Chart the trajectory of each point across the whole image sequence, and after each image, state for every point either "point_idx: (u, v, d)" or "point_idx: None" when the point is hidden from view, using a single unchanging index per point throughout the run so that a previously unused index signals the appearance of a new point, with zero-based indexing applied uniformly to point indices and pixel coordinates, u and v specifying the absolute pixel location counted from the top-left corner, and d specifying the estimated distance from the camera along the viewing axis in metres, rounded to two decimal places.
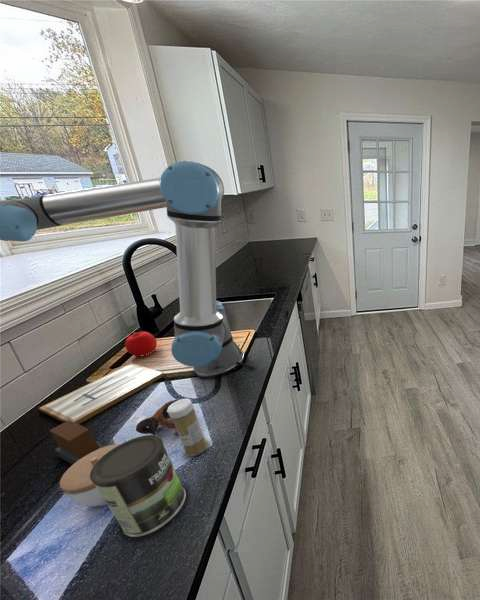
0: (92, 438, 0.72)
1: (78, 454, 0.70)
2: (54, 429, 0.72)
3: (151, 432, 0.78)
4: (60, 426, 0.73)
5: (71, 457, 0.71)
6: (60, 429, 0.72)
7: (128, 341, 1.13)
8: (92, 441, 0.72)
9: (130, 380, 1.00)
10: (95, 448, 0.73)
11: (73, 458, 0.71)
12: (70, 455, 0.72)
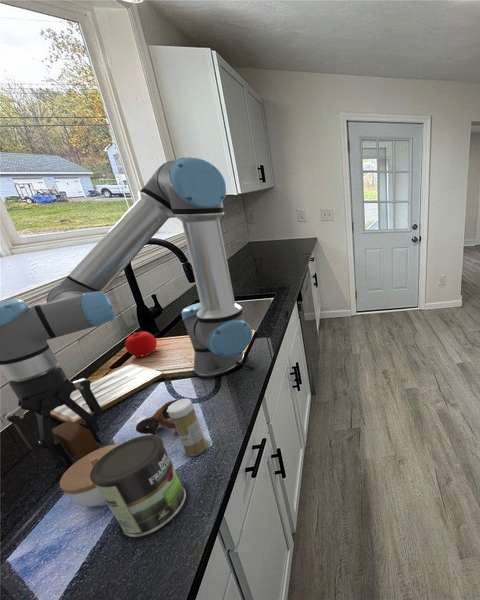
0: (92, 438, 0.72)
1: (78, 454, 0.70)
2: (54, 429, 0.72)
3: (151, 432, 0.78)
4: (60, 426, 0.73)
5: (71, 457, 0.71)
6: (60, 429, 0.72)
7: (128, 341, 1.13)
8: (92, 441, 0.72)
9: (130, 380, 1.00)
10: (95, 448, 0.73)
11: (73, 458, 0.71)
12: (70, 455, 0.72)
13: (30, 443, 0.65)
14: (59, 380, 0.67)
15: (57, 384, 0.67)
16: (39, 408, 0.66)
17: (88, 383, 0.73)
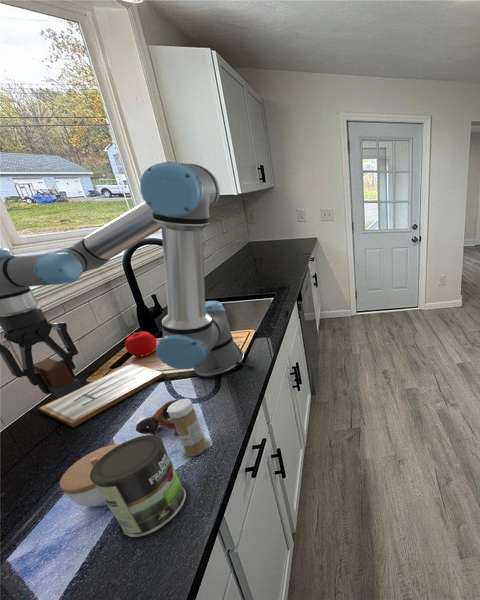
0: (67, 371, 0.85)
1: (55, 383, 0.83)
2: (35, 364, 0.85)
3: (151, 432, 0.78)
4: (41, 362, 0.86)
5: (49, 387, 0.84)
6: (40, 364, 0.85)
7: (128, 341, 1.13)
8: (67, 374, 0.85)
9: (130, 380, 1.00)
10: (70, 381, 0.86)
11: (51, 387, 0.84)
12: (49, 385, 0.85)
13: (14, 370, 0.78)
14: (39, 319, 0.80)
15: (37, 322, 0.80)
16: (22, 341, 0.79)
17: (65, 325, 0.86)
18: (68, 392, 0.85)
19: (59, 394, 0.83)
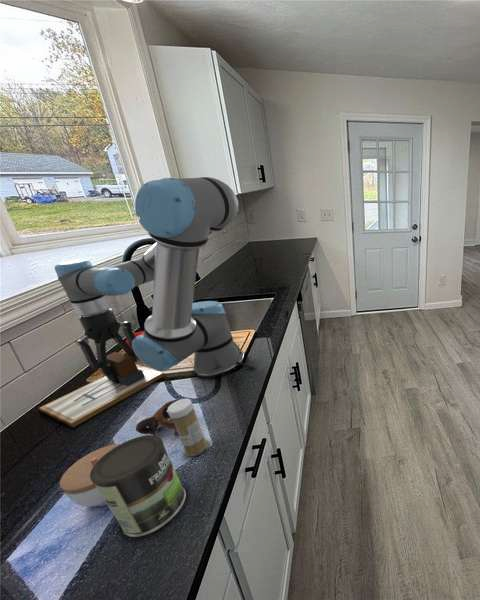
0: (133, 363, 0.99)
1: (124, 373, 0.97)
2: None
3: (151, 432, 0.78)
4: (109, 355, 1.00)
5: (118, 376, 0.98)
6: (109, 357, 0.99)
7: None
8: (133, 365, 0.99)
9: None
10: (135, 371, 1.00)
11: (120, 377, 0.98)
12: (117, 375, 0.99)
13: (92, 362, 0.92)
14: (112, 318, 0.94)
15: (111, 321, 0.94)
16: (98, 338, 0.93)
17: (130, 324, 1.00)
18: (134, 381, 0.99)
19: (127, 382, 0.97)
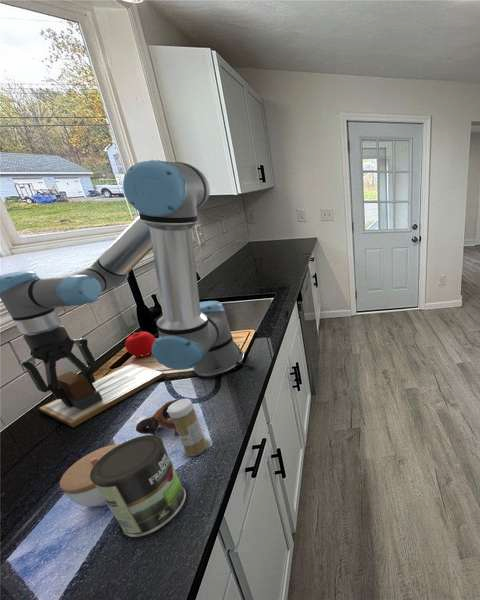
0: (88, 384, 0.90)
1: (77, 396, 0.88)
2: (58, 377, 0.89)
3: (151, 432, 0.78)
4: (63, 375, 0.90)
5: (71, 399, 0.89)
6: (62, 377, 0.89)
7: (128, 341, 1.13)
8: (88, 387, 0.90)
9: (130, 380, 1.00)
10: (91, 393, 0.90)
11: (73, 400, 0.88)
12: (70, 398, 0.89)
13: (40, 385, 0.83)
14: (62, 336, 0.84)
15: (61, 339, 0.84)
16: (47, 358, 0.84)
17: (86, 341, 0.91)
18: (89, 404, 0.89)
19: (81, 406, 0.88)
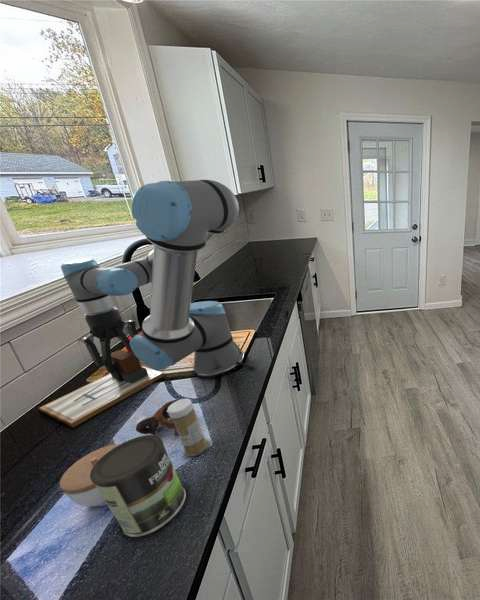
0: (137, 361, 1.00)
1: (127, 371, 0.98)
2: None
3: (151, 432, 0.78)
4: (113, 353, 1.01)
5: (122, 374, 0.99)
6: (114, 354, 1.00)
7: None
8: (137, 363, 1.00)
9: None
10: (138, 369, 1.01)
11: (123, 374, 0.99)
12: (121, 373, 1.00)
13: (97, 360, 0.94)
14: (116, 317, 0.95)
15: (115, 320, 0.95)
16: (103, 336, 0.94)
17: (134, 323, 1.01)
18: (137, 378, 1.00)
19: (131, 380, 0.98)
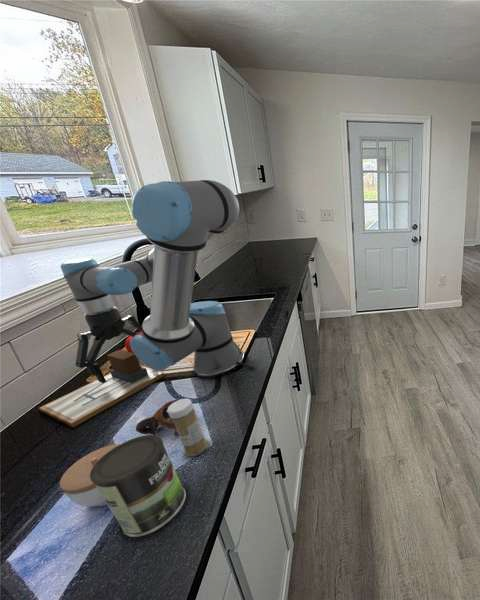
0: (137, 361, 1.00)
1: (128, 370, 0.98)
2: (110, 354, 1.00)
3: (151, 432, 0.78)
4: (114, 352, 1.01)
5: (122, 373, 0.99)
6: (114, 354, 1.00)
7: (128, 341, 1.13)
8: (137, 363, 1.00)
9: None
10: (139, 368, 1.01)
11: (124, 374, 0.99)
12: (121, 372, 1.00)
13: (81, 359, 0.90)
14: (116, 317, 0.95)
15: (115, 319, 0.95)
16: (101, 335, 0.94)
17: (133, 318, 1.01)
18: (137, 378, 1.00)
19: (131, 380, 0.99)
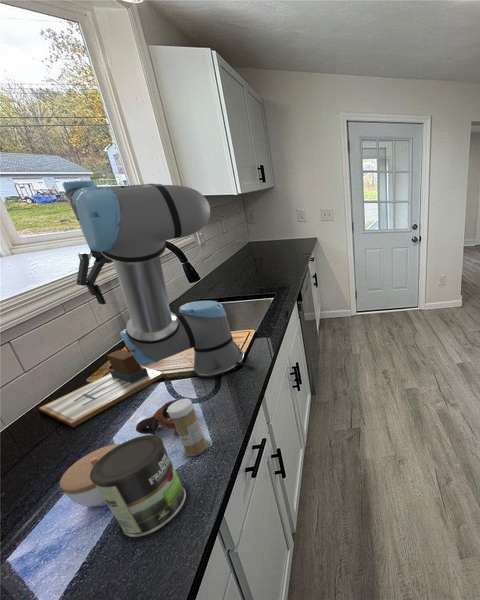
0: None
1: (128, 370, 0.98)
2: (110, 354, 1.00)
3: (151, 432, 0.78)
4: (114, 352, 1.01)
5: (122, 373, 0.99)
6: (114, 354, 1.00)
7: None
8: (137, 363, 1.00)
9: None
10: (139, 368, 1.01)
11: (124, 374, 0.99)
12: (121, 372, 1.00)
13: (82, 277, 0.95)
14: None
15: None
16: (101, 257, 0.98)
17: None
18: (137, 378, 1.00)
19: (131, 380, 0.99)
